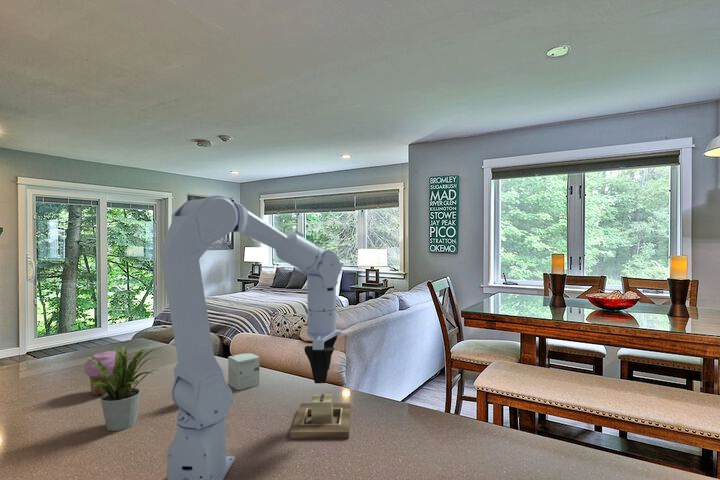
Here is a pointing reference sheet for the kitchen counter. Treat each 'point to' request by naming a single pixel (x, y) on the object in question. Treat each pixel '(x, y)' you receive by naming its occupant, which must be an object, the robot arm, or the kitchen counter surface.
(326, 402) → the beige block with stripe
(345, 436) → the plate
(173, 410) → the kitchen counter surface
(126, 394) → the house plant
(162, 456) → the kitchen counter surface
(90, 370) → the cupcake
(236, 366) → the skincare box
